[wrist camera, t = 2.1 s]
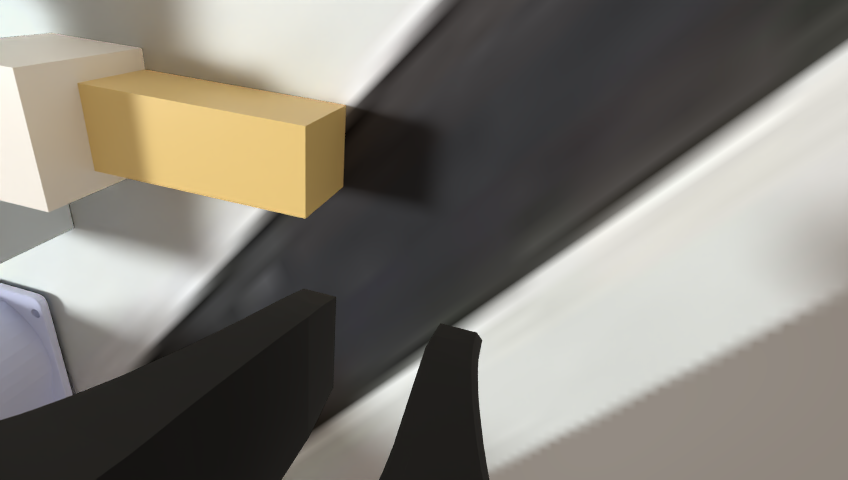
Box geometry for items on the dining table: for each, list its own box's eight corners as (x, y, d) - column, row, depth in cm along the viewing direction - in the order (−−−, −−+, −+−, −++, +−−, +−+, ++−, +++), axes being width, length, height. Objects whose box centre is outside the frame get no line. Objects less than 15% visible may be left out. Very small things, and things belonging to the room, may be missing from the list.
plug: (342, 205, 20) (273, 268, 15) (75, 147, 22) (-50, 188, 18) (346, 82, 18) (268, 115, 13) (51, 32, 20) (-97, 47, 16)
